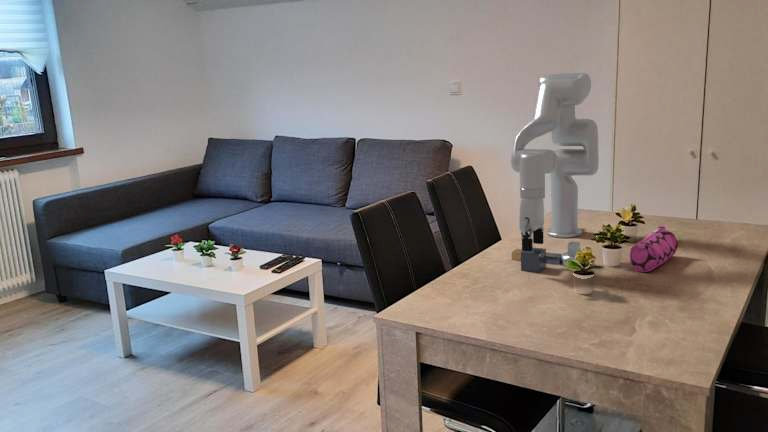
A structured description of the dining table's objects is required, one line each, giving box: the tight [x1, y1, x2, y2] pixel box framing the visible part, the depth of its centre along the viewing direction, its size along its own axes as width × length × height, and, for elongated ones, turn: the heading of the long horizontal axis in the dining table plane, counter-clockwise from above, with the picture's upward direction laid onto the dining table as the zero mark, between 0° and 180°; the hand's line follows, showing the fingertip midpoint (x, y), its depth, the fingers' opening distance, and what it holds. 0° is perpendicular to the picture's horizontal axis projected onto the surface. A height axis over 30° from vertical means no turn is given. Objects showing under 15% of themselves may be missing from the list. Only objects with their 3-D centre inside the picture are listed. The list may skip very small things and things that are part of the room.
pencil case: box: [629, 225, 679, 273], centre depth 204 cm, size 21×10×10 cm, turn 143°
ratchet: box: [511, 241, 581, 267], centre depth 213 cm, size 24×8×7 cm, turn 58°
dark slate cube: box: [520, 247, 547, 273], centre depth 206 cm, size 6×6×6 cm
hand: (532, 247), depth 205 cm, fingers open, 9 cm apart
